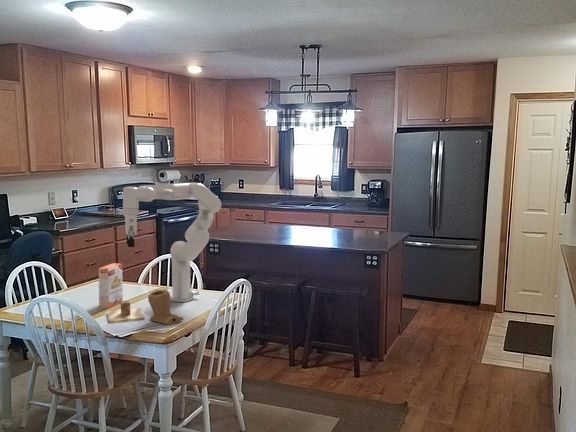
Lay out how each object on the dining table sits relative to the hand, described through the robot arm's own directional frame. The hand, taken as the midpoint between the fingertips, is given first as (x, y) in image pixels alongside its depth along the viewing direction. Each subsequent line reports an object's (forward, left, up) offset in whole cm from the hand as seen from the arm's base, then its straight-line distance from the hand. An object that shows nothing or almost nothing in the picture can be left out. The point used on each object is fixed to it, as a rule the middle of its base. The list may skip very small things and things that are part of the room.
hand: (130, 245), depth 265 cm
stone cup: (-12, +30, -32) cm, 45 cm away
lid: (+4, +17, -31) cm, 36 cm away
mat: (+4, +17, -32) cm, 36 cm away
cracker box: (+9, -6, -32) cm, 34 cm away
